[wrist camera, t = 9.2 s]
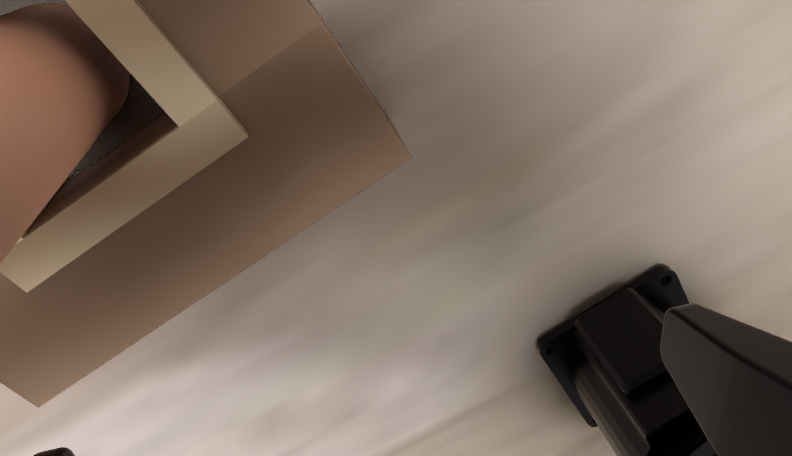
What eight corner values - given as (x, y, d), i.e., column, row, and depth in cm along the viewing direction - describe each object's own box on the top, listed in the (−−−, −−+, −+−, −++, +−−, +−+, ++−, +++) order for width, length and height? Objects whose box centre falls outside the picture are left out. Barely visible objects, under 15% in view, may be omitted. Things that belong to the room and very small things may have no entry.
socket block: (391, 122, 19) (413, 161, 16) (69, 342, 21) (34, 414, 18) (46, -389, 13) (-26, -486, 9) (-392, -5, 14) (-573, 18, 11)
